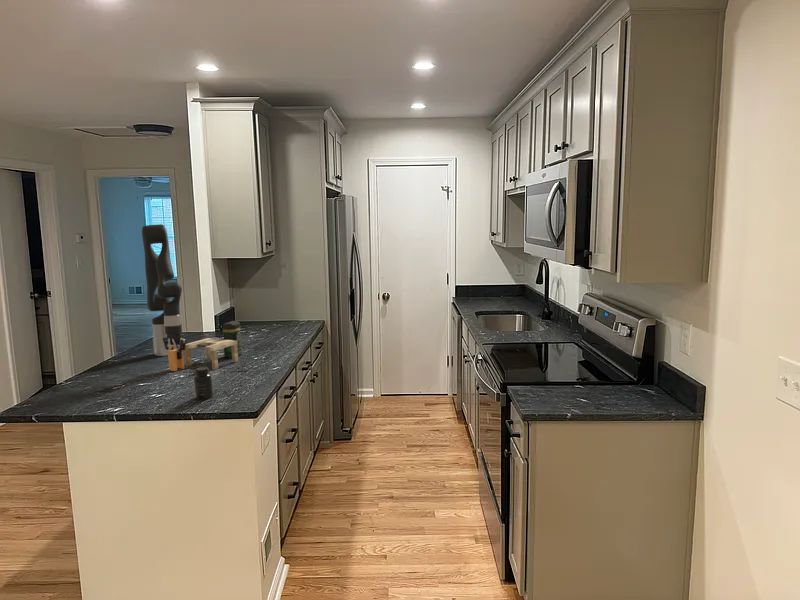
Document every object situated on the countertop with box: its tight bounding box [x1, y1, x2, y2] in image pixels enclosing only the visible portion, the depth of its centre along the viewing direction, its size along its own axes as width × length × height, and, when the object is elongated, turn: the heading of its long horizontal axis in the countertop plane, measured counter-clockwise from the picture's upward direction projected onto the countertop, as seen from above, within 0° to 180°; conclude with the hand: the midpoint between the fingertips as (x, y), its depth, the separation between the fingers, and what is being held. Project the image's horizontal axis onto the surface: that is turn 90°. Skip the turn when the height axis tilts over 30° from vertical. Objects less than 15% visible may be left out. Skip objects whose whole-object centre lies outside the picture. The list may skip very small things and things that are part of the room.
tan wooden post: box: [167, 348, 186, 372], centre depth 259 cm, size 4×6×10 cm
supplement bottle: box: [193, 366, 214, 400], centre depth 215 cm, size 7×7×12 cm
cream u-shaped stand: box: [184, 337, 239, 370], centre depth 268 cm, size 20×16×11 cm
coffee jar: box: [222, 320, 243, 359], centre depth 282 cm, size 10×8×19 cm
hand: (176, 358), depth 259 cm, fingers closed on tan wooden post, 4 cm apart
